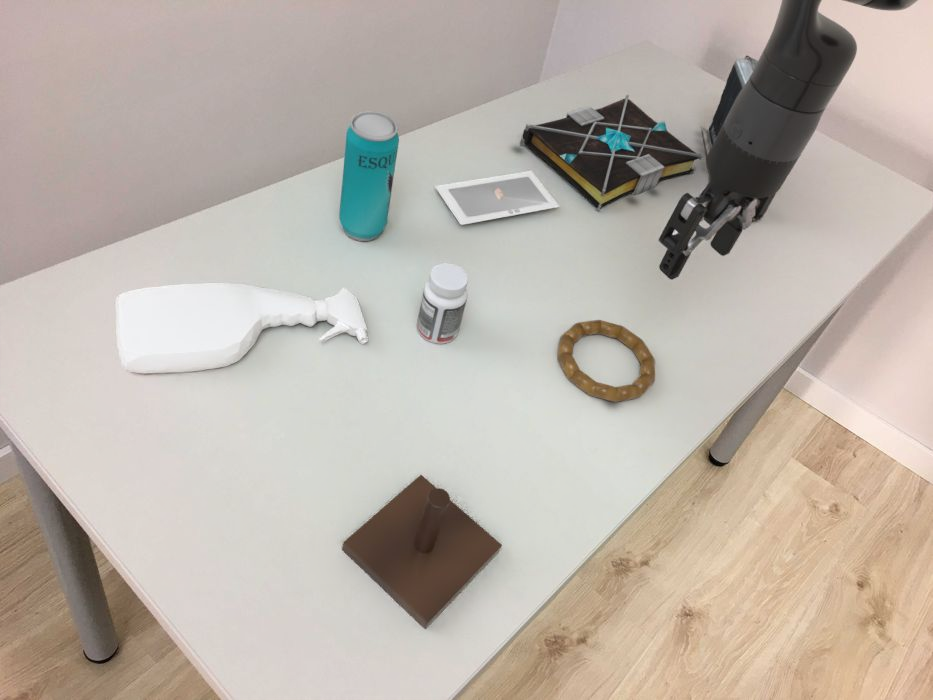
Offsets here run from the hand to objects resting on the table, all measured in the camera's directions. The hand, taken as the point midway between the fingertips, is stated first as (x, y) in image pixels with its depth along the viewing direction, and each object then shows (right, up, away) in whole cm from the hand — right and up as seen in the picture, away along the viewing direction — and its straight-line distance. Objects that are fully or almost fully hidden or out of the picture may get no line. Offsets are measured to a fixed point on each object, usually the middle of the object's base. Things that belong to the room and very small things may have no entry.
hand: (693, 261), depth 85 cm
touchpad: (-20, +10, +20) cm, 31 cm away
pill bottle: (-28, -7, +4) cm, 29 cm away
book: (-3, +19, +32) cm, 37 cm away
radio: (+15, +17, +36) cm, 42 cm away
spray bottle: (-48, -8, -2) cm, 48 cm away
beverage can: (-37, +5, +12) cm, 39 cm away
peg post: (-28, -27, -14) cm, 42 cm away
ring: (-9, -10, +4) cm, 14 cm away
